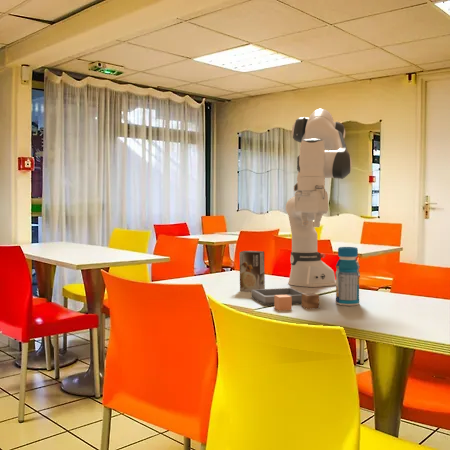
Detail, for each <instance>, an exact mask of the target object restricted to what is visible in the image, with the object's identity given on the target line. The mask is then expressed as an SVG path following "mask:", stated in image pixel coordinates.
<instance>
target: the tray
mask: <svg viewBox="0 0 450 450" xmlns="http://www.w3.org/2000/svg"><path fill="white" fill-rule="evenodd" d="M302 294H306V293H305V292H302V291H300V290H298V289H295V288H293V287H283V288H282V287H281V288H265V289H257V290H252V292H251V299H253V300H254V301H257V302H258V303H260V304H262V305H263V306H274V295H289V296H291V297H292V305H299V304H301V305H302Z"/></svg>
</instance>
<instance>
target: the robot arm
mask: <svg viewBox="0 0 450 450" xmlns="http://www.w3.org/2000/svg"><path fill="white" fill-rule="evenodd" d="M333 118H334V117H333V115H332V113H331V112H330V111H329V110H327V109H326V108H325V109H324V108H318V109H315V110H314V111H313V112H311V114H310V115H309V116H308V117H306V116H303V117H302V116H301V117H298V118H296V119H295V122H293V125H292V128H291V134H292V138H293V140H294V141H295V142H298V143H300V148H299V155H298V156H297V157H296V158H297V159H296V163H297V164H296V165H297V166H296V170H297V176H296V184H295V185H294V186H293V192H295V193H294V196H292V197H291V198H289V199H288V200H287V202H286V204H285V211H286V214H287V215H288V220H289V225H290V231H291V252H290V264H291V265H290V268H291V269H290V273H289V279H288V282H287V284H288V285H290V286H297V287H309V288H319V287H330V286H331V287H332V286H336V275H335V271H334V269H332V267H330V266H329V265H328V264H326V262H324V261H323V260H322V259H325V257H326V253H323V252H318V232H317V231H316V228H320V226H321V220H322V217H323V216H324V214H326V215H327V214H328V211H329V197H328V196H329V194H328V192H327V191H326V188H325V187H326V179H329V178H330V179H339V180H340V179H341V180H343V179H345V178H346V177H348V176H349V175H350V173H351V171H352V167H353V166H352V165H353V163H352V162H353V161H352V158H351V154H350V153H349V151H348V147H347V145H346V142H345V138H346V128H345V125H344V124H343V123H341V122H339V121H334V119H333Z"/></svg>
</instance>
